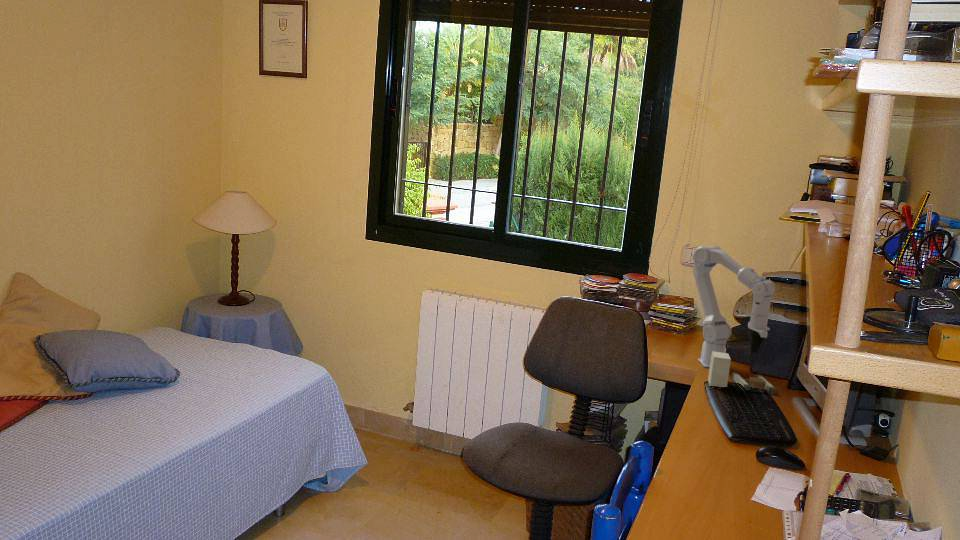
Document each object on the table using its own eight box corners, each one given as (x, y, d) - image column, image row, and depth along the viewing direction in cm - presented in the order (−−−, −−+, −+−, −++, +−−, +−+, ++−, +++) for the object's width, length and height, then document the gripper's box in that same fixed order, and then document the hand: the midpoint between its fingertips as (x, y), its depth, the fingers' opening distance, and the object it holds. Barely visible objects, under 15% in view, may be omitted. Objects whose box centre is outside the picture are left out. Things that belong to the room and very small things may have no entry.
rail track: (731, 377, 280) (732, 372, 279) (760, 380, 280) (760, 375, 279) (745, 391, 265) (746, 386, 265) (775, 394, 265) (776, 388, 265)
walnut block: (748, 387, 271) (749, 377, 270) (759, 388, 271) (761, 378, 271) (752, 391, 267) (753, 381, 266) (764, 392, 267) (765, 382, 267)
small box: (726, 389, 265) (731, 359, 264) (709, 387, 266) (713, 356, 265) (724, 382, 273) (728, 353, 271) (707, 380, 274) (712, 350, 272)
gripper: (778, 320, 270) (772, 359, 273) (764, 310, 285) (758, 347, 287) (758, 318, 270) (751, 357, 273) (744, 309, 285) (738, 345, 287)
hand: (753, 352), depth 280 cm, fingers closed
